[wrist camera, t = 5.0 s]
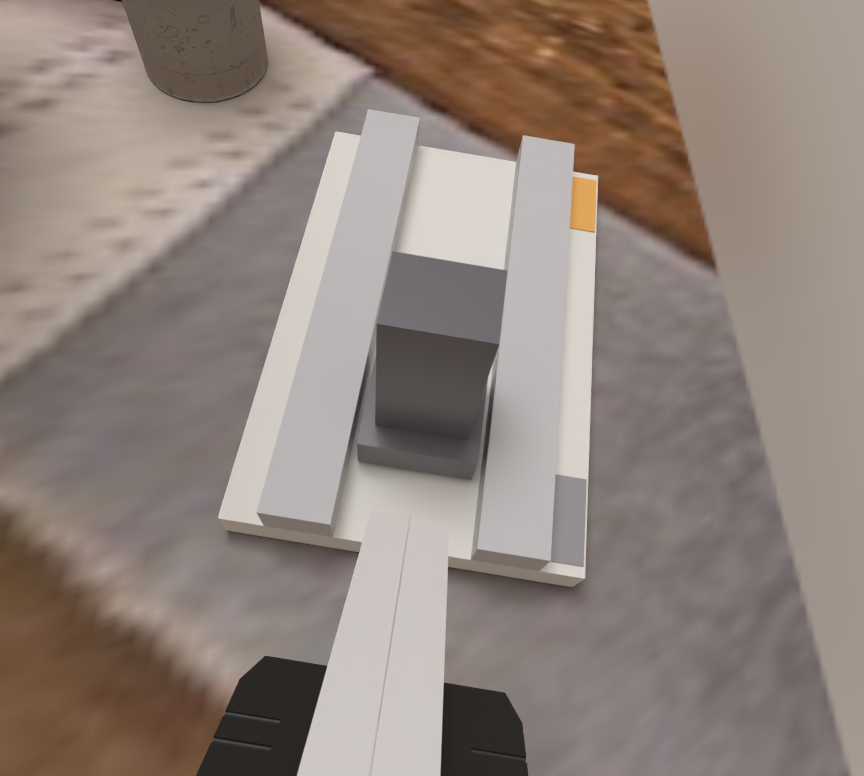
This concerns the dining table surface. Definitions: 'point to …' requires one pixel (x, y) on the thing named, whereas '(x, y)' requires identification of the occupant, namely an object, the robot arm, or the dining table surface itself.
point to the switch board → (356, 350)
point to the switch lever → (432, 365)
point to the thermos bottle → (200, 46)
